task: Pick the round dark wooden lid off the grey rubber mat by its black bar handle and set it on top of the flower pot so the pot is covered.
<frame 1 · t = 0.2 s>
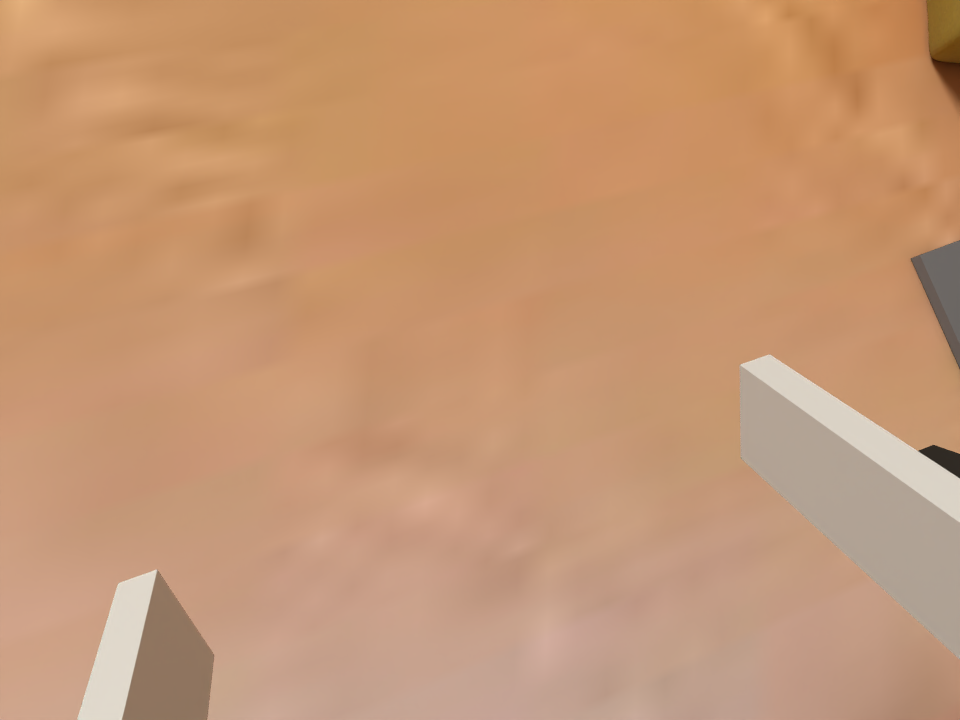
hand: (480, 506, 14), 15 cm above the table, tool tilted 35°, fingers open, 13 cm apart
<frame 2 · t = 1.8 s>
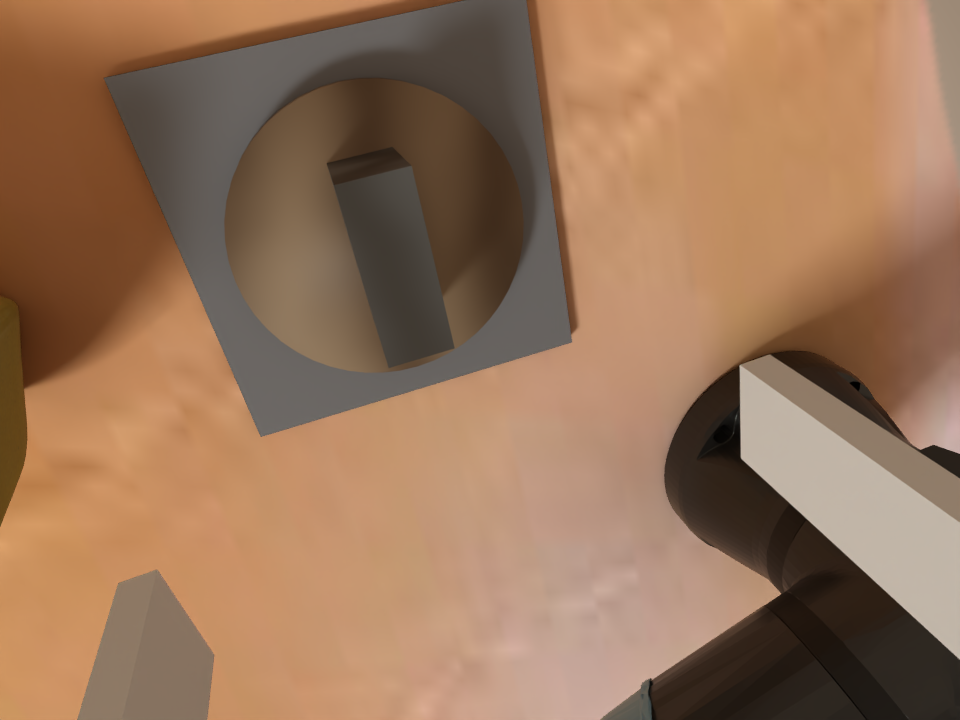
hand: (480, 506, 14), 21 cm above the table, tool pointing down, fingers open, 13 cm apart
lid: (379, 233, 31), point 1 cm above the table, touching mat
mat: (378, 230, 32), on the table
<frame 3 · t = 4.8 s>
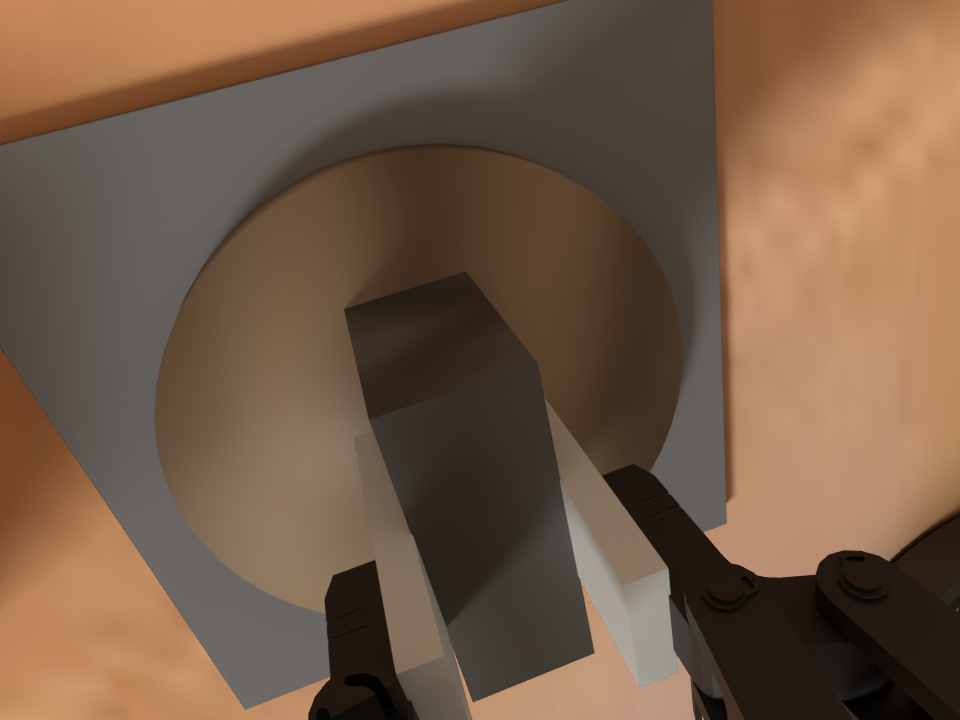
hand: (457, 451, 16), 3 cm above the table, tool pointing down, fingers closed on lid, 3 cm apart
lid: (436, 402, 18), point 1 cm above the table, touching gripper
mat: (432, 393, 19), on the table
when the fingers open (13 cm above the table, at t = 9.2 s): lid drops 2 cm, resting on flower pot.
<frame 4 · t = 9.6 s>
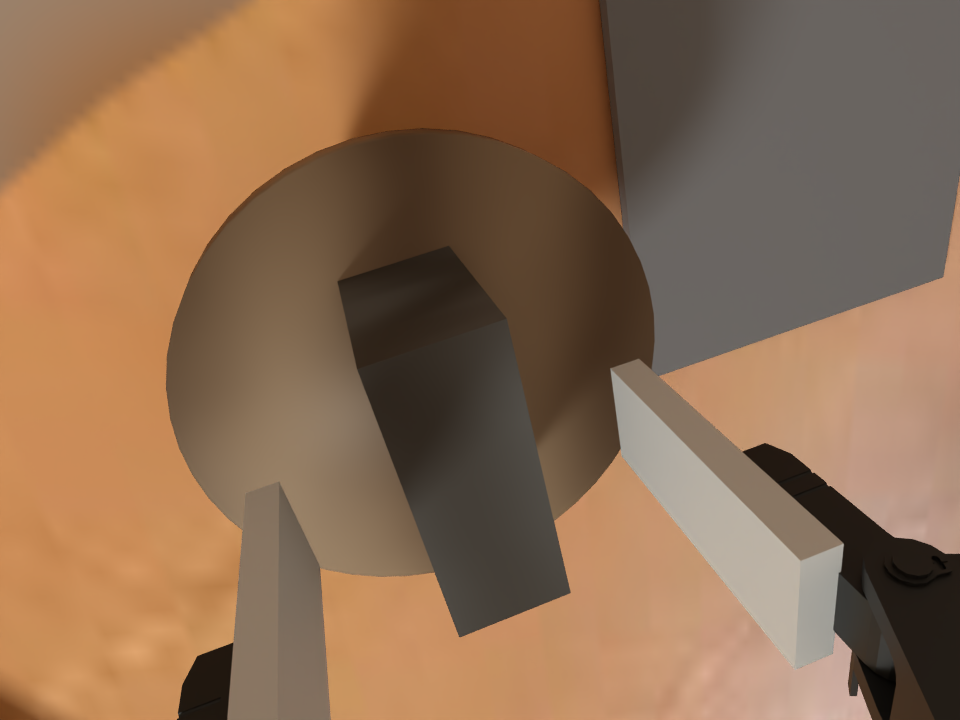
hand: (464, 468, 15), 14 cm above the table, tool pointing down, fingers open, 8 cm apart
lid: (426, 371, 19), point 9 cm above the table, touching flower pot
mat: (797, 154, 30), on the table
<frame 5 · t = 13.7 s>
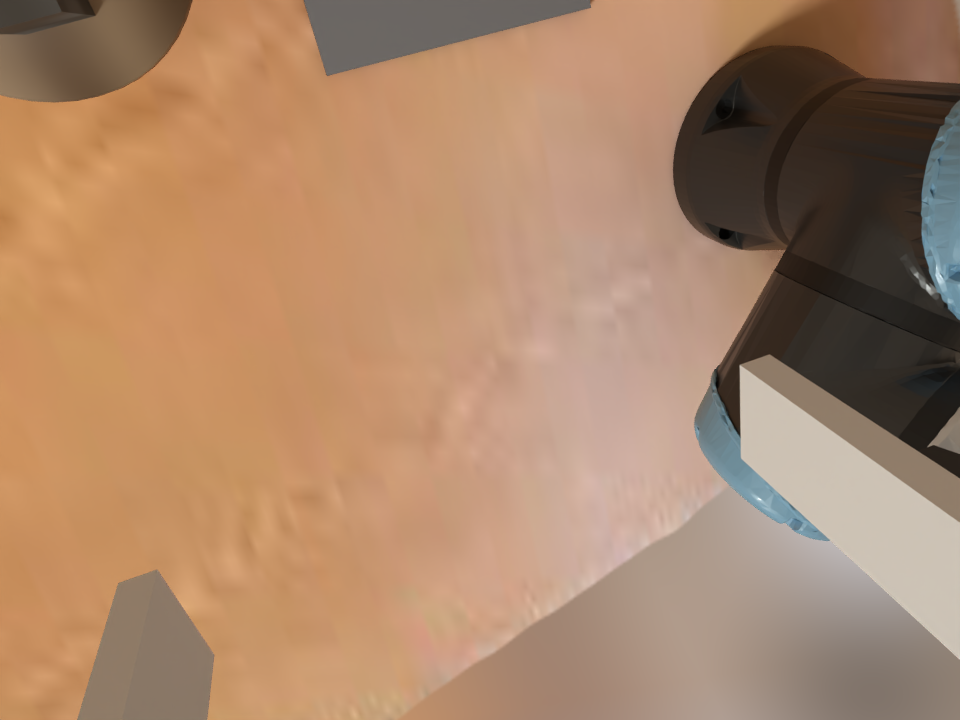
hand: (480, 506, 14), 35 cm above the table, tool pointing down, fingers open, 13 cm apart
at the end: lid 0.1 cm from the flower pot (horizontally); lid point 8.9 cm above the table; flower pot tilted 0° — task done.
